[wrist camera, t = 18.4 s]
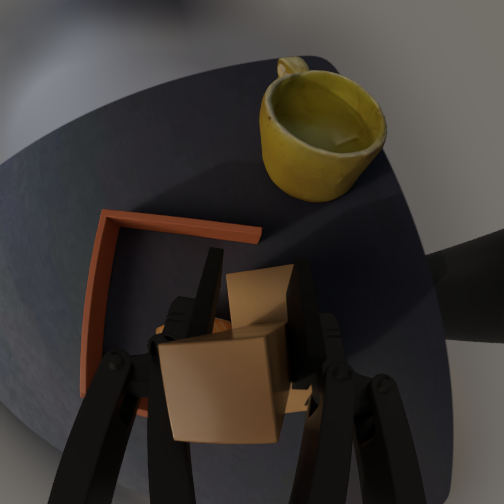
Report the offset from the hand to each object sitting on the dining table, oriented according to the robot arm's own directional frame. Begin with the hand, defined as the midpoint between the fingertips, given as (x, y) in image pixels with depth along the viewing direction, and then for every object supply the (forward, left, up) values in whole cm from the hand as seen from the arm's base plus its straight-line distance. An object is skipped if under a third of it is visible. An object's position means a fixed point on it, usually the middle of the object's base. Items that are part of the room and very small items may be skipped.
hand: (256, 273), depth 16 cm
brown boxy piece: (-3, +4, -6) cm, 8 cm away
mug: (-3, -13, -7) cm, 15 cm away
